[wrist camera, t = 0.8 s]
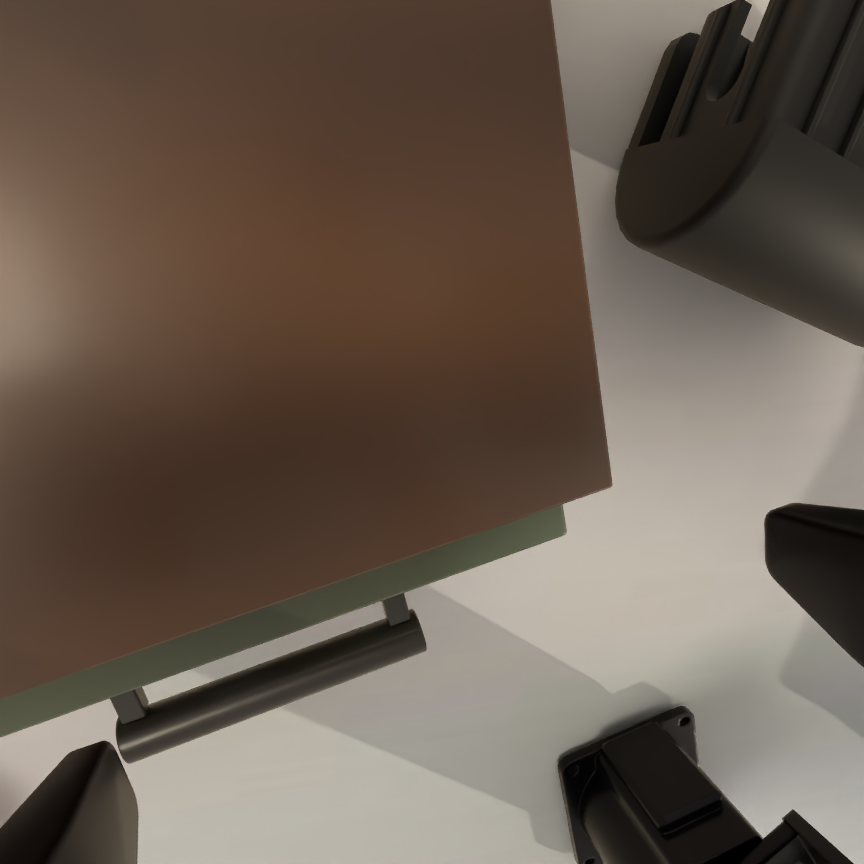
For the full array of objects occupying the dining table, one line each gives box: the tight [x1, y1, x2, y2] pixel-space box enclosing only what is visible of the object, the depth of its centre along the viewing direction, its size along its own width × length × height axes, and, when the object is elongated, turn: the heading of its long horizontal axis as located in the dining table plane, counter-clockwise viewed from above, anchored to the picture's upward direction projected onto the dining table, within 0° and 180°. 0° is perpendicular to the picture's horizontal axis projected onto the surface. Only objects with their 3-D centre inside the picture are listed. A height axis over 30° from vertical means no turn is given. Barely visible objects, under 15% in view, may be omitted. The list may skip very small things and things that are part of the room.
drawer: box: [0, 504, 567, 763], centre depth 14 cm, size 20×13×9 cm, turn 12°
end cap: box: [615, 0, 864, 347], centre depth 20 cm, size 10×7×7 cm
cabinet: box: [0, 0, 612, 699], centre depth 12 cm, size 17×15×11 cm
